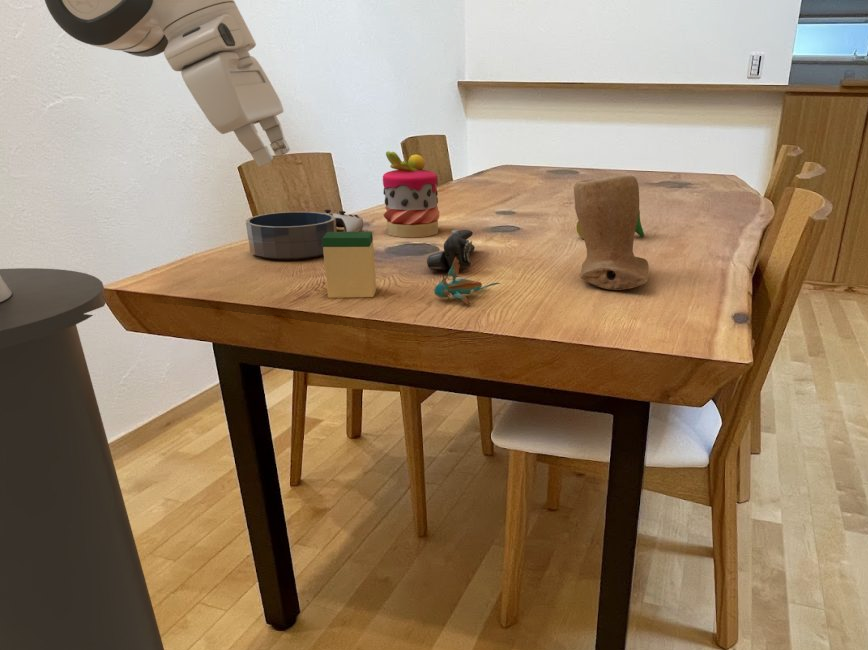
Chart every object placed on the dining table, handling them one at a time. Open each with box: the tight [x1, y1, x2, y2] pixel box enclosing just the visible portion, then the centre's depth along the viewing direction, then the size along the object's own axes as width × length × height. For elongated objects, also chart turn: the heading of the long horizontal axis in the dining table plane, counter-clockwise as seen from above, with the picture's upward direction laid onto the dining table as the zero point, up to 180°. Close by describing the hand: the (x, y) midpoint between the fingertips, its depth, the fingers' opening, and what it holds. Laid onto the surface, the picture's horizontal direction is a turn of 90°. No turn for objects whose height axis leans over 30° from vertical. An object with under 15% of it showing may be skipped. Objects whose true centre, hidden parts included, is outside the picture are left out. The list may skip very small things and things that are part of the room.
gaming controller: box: [324, 209, 364, 232], centre depth 126 cm, size 11×6×7 cm
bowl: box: [245, 211, 338, 261], centre depth 111 cm, size 14×14×6 cm
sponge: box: [322, 231, 377, 299], centre depth 89 cm, size 6×4×8 cm, turn 95°
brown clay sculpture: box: [573, 174, 650, 291], centre depth 96 cm, size 15×12×15 cm
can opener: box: [426, 229, 476, 271], centre depth 106 cm, size 18×7×6 cm, turn 171°
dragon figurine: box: [433, 257, 501, 305], centre depth 89 cm, size 7×7×8 cm
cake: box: [382, 151, 440, 238], centre depth 126 cm, size 10×11×15 cm
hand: (275, 158), depth 83 cm, fingers open, 8 cm apart
